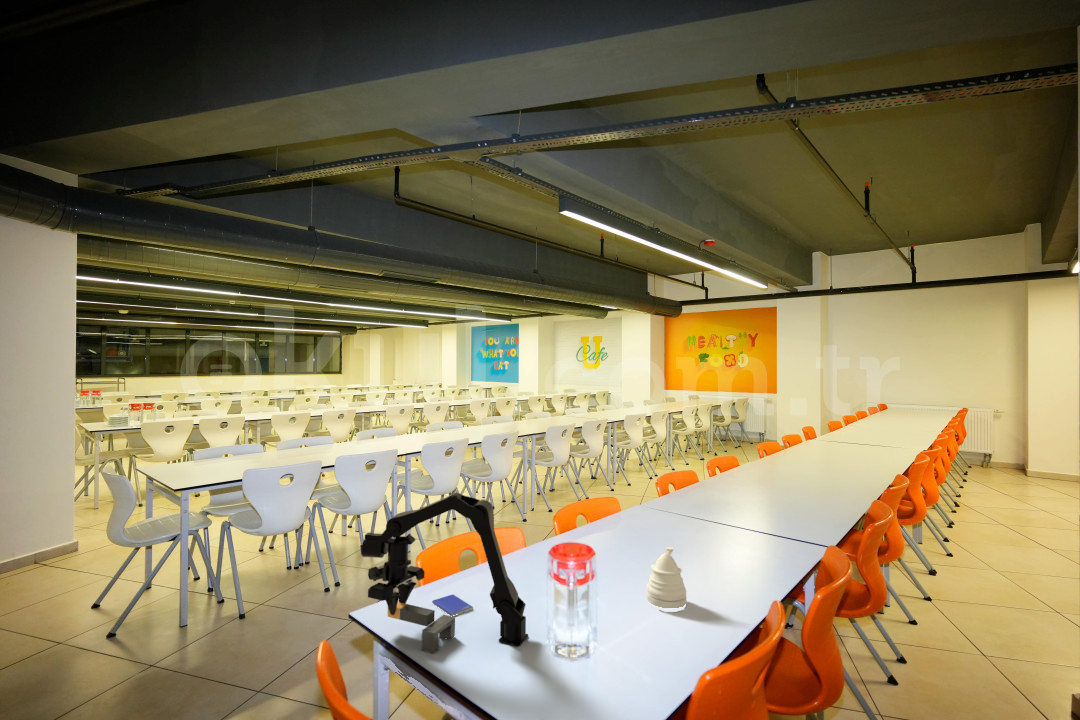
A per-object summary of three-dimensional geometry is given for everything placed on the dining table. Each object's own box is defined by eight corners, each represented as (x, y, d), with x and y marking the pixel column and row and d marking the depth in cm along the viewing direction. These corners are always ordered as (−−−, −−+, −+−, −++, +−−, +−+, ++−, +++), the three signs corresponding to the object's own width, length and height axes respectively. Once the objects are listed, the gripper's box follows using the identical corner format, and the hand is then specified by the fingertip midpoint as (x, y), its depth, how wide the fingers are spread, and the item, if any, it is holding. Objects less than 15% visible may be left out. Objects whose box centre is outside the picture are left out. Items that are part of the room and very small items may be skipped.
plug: (434, 621, 143) (434, 610, 143) (426, 626, 140) (427, 615, 140) (395, 611, 149) (395, 601, 149) (387, 616, 146) (387, 606, 146)
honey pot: (660, 592, 176) (660, 540, 177) (693, 604, 167) (693, 549, 167) (639, 603, 167) (639, 549, 168) (673, 616, 158) (673, 559, 158)
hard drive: (473, 606, 161) (453, 593, 171) (451, 613, 156) (432, 600, 165) (473, 611, 161) (453, 598, 171) (451, 618, 156) (431, 605, 165)
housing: (454, 636, 144) (455, 617, 144) (434, 653, 135) (434, 633, 135) (443, 633, 146) (443, 614, 146) (421, 650, 136) (422, 630, 137)
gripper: (397, 544, 159) (396, 594, 158) (353, 564, 142) (352, 620, 141) (426, 549, 154) (425, 601, 154) (384, 570, 137) (383, 628, 137)
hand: (396, 611), depth 146 cm, fingers closed on plug, 3 cm apart
